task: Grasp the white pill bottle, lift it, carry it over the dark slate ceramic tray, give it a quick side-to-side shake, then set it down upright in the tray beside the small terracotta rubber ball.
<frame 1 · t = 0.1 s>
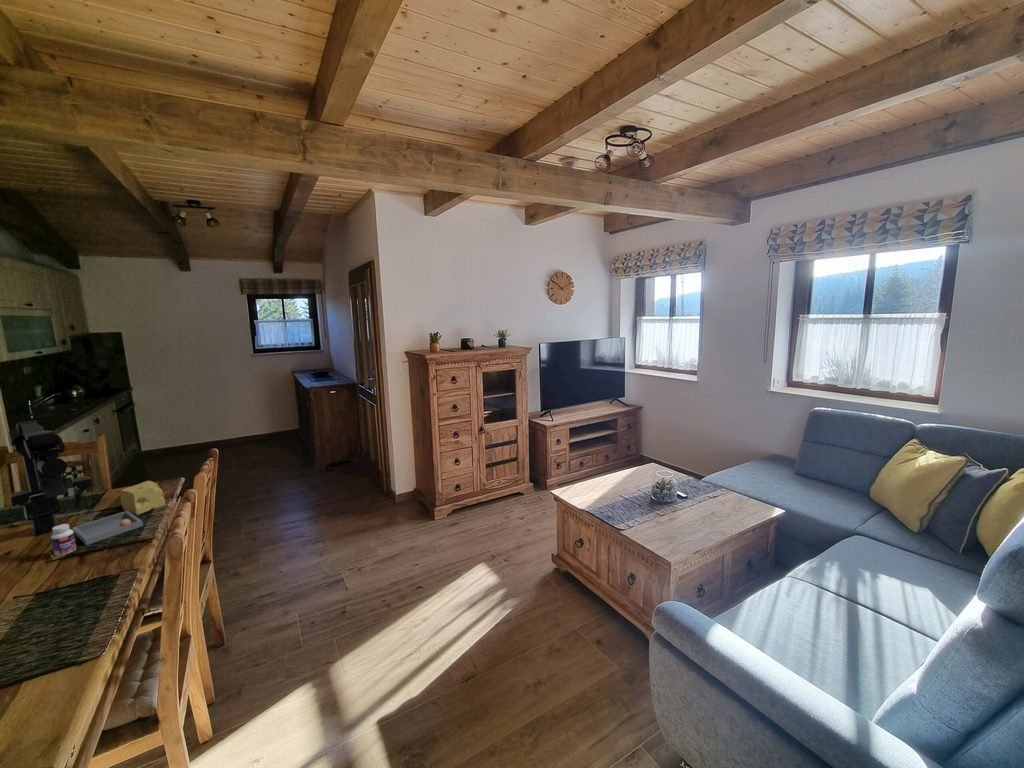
hand: (57, 513, 146), 14 cm above the table, fingers open, 9 cm apart
tray: (109, 530, 163), on the table
pill bottle: (66, 553, 149), on the table
cheese: (144, 509, 181), on the table
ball: (126, 527, 164), point 1 cm above the table, touching tray
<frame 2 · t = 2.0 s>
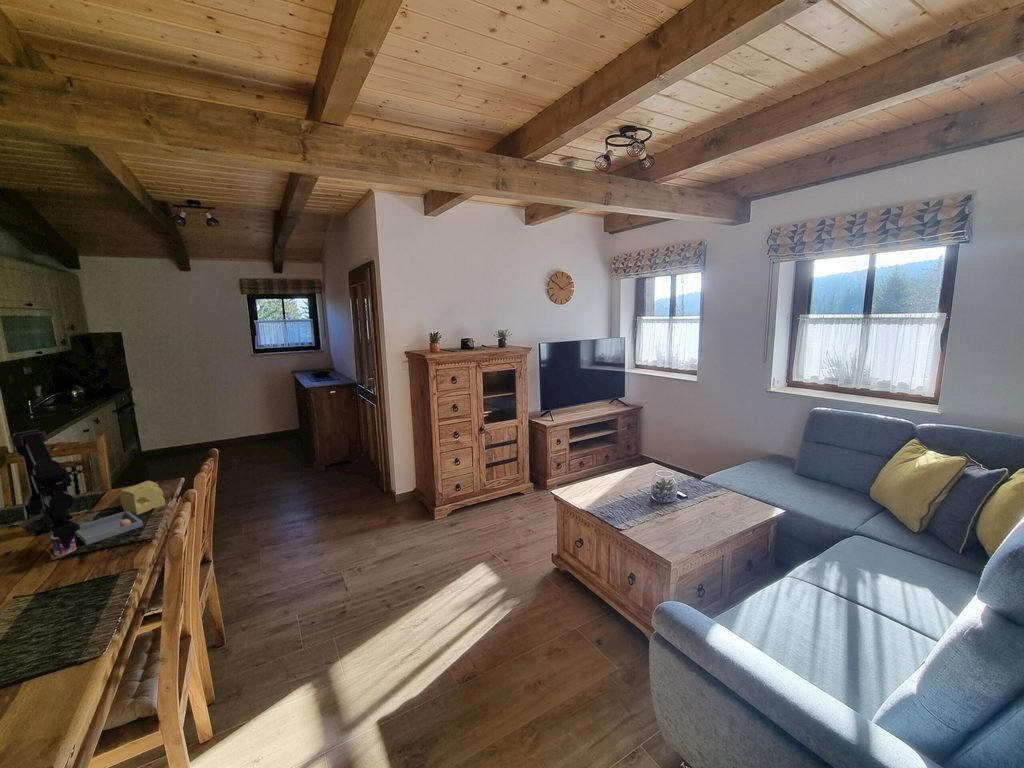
hand: (64, 545, 148), 3 cm above the table, fingers closed on pill bottle, 5 cm apart
pill bottle: (66, 553, 149), on the table, touching gripper
everything else where it was.
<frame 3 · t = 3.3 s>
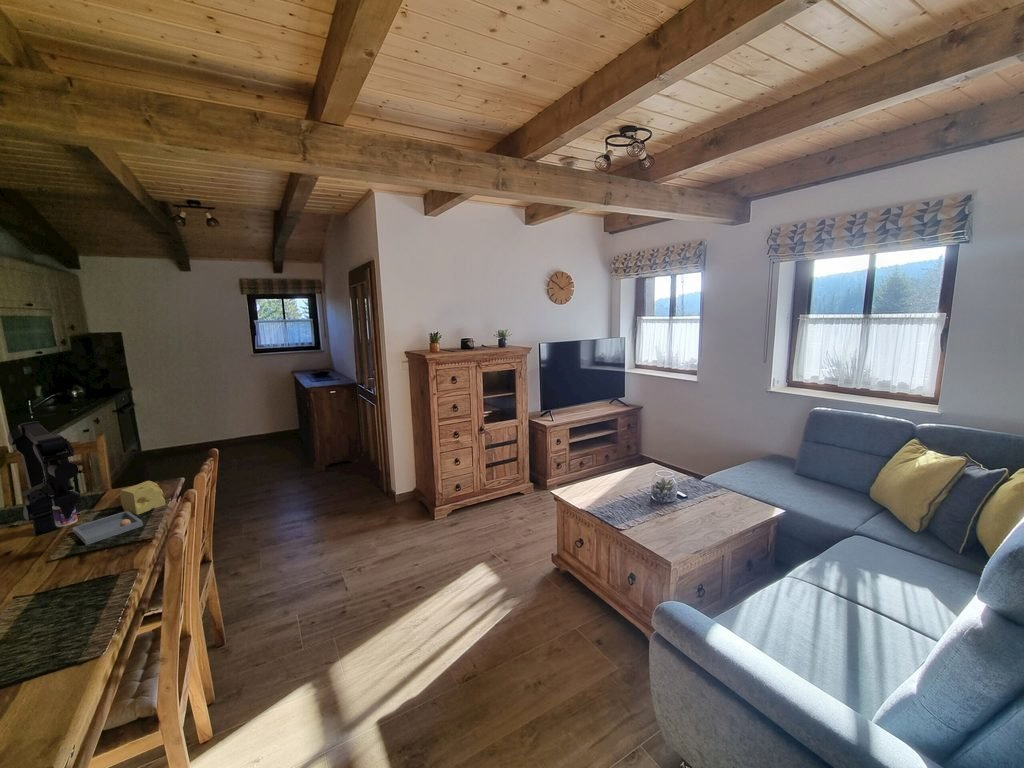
hand: (65, 516, 149), 12 cm above the table, fingers closed on pill bottle, 5 cm apart
pill bottle: (67, 523, 150), point 9 cm above the table, touching gripper
everything else where it was.
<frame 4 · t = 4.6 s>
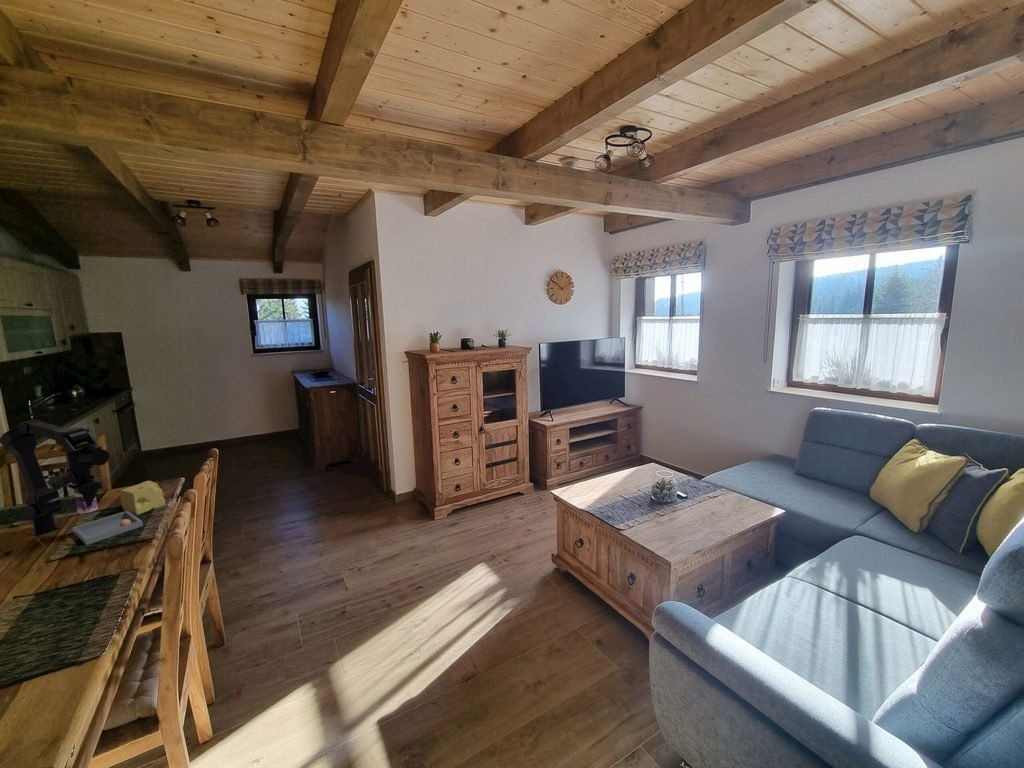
hand: (86, 503, 158), 12 cm above the table, fingers closed on pill bottle, 5 cm apart
pill bottle: (88, 510, 159), point 9 cm above the table, touching gripper
everything else where it was.
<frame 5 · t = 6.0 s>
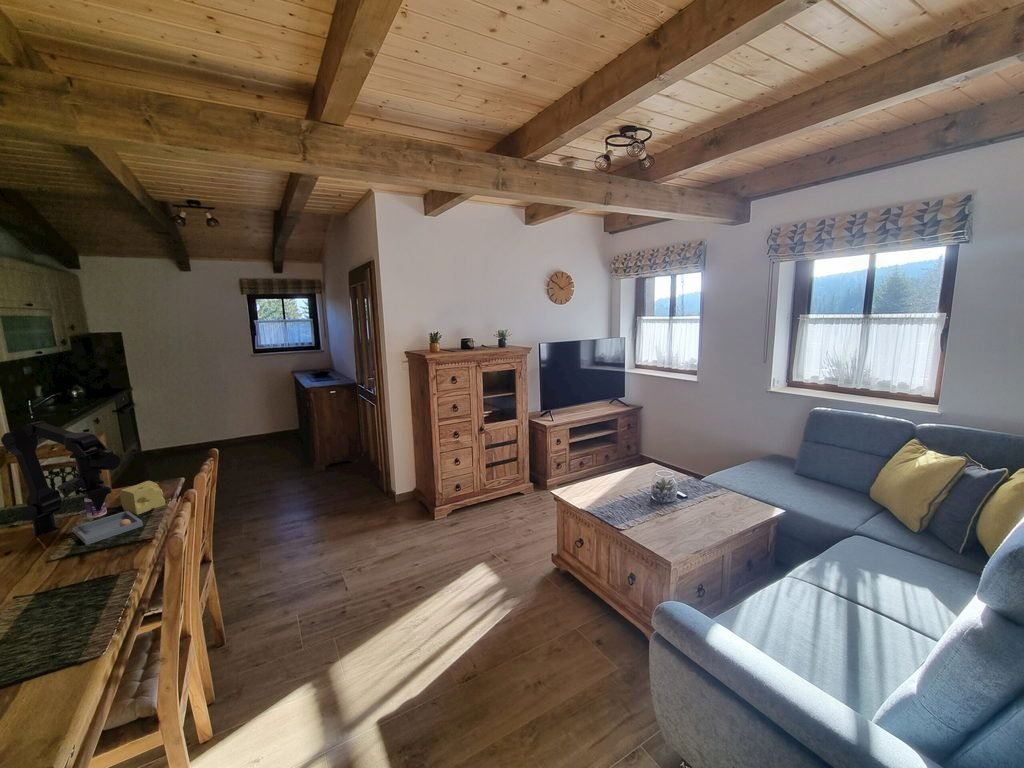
hand: (96, 508, 160), 9 cm above the table, fingers closed on pill bottle, 5 cm apart
pill bottle: (97, 515, 161), point 7 cm above the table, touching gripper
everything else where it was.
when the fingers open (4 cm above the table, at t = 7.3 s): pill bottle drops 1 cm, resting on tray.
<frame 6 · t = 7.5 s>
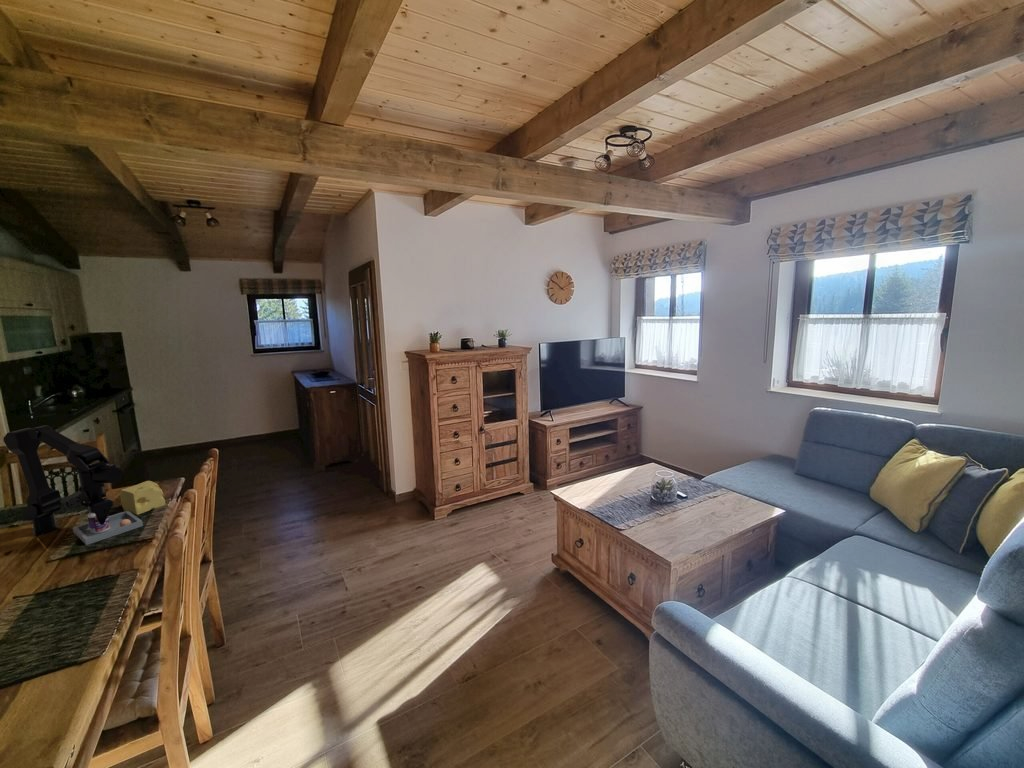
hand: (98, 521, 161), 4 cm above the table, fingers open, 7 cm apart
pill bottle: (100, 531, 162), resting on tray
everything else where it was.
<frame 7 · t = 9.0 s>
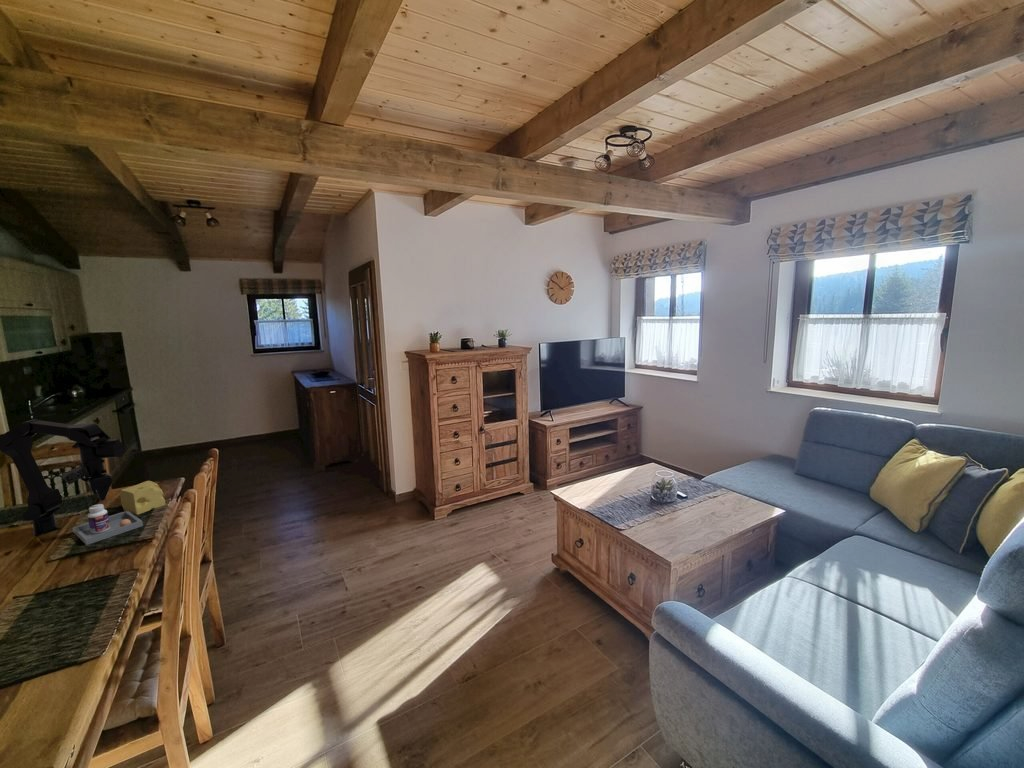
hand: (99, 497, 163), 12 cm above the table, fingers open, 9 cm apart
nothing on the table moved.
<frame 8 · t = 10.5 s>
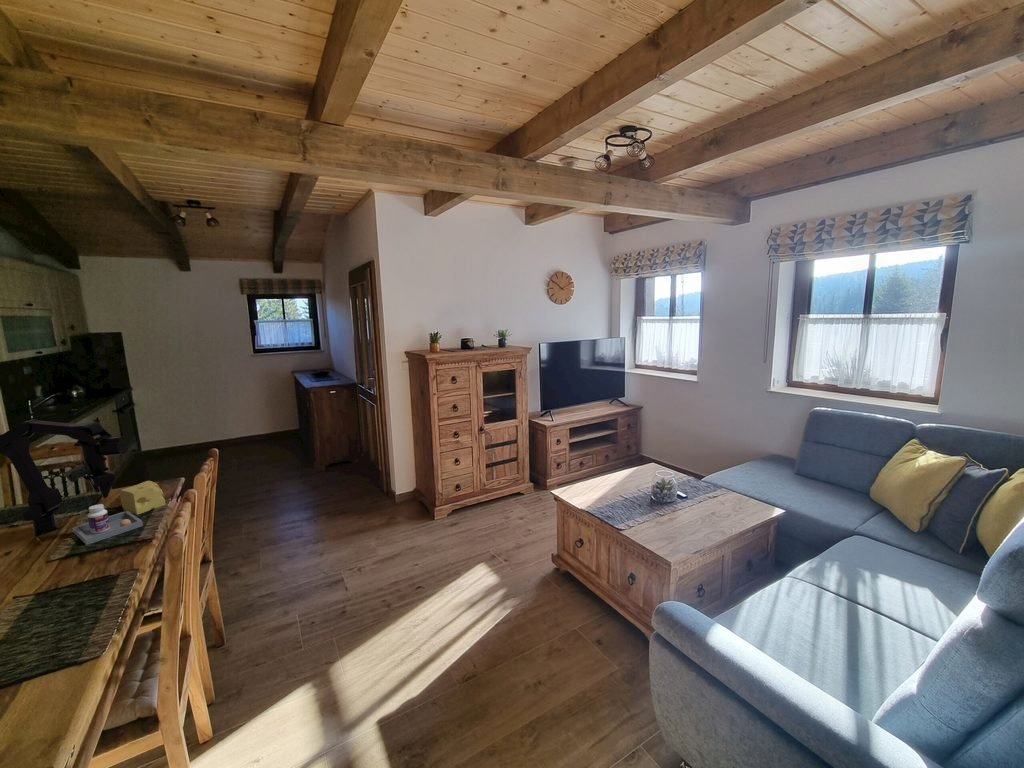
hand: (101, 495, 165), 13 cm above the table, fingers open, 9 cm apart
nothing on the table moved.
at the end: pill bottle inside the target area on the tray (2.3 cm from its centre), point 0.4 cm above the tray's base; pill bottle tilted 0°; the gripper is holding nothing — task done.
